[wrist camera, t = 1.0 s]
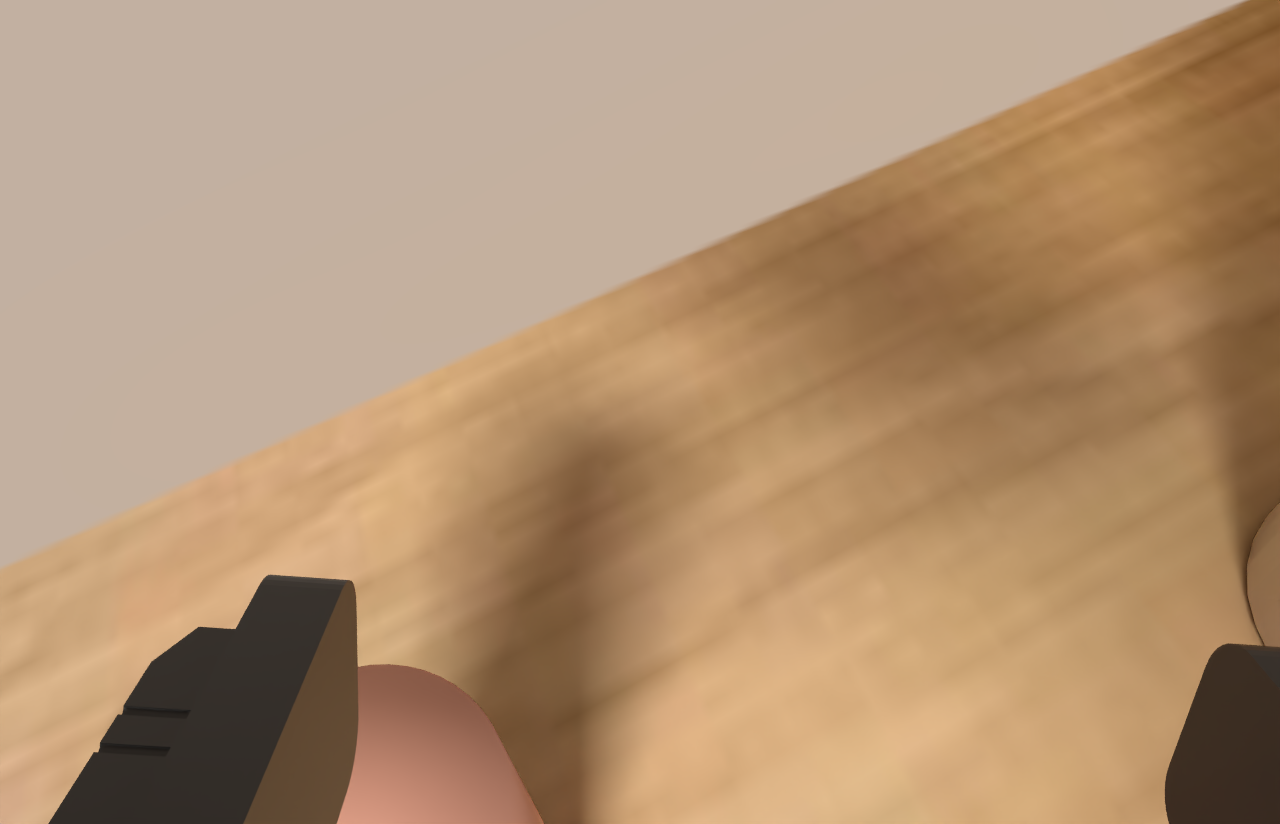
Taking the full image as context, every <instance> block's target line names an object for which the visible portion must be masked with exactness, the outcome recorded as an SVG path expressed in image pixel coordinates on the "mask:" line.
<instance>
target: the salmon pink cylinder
mask: <svg viewBox="0 0 1280 824" xmlns="http://www.w3.org/2000/svg"><path fill="white" fill-rule="evenodd" d="M337 824H544V822H543V820H542V818H541V817H540V815H539V813H538V811H537V809H536V807H535V805H534V803H533V801H532V799H531V797H530V796H529V794H528V792H527V790H526V788H525V786H524V784H523V782H522V780H521V778H520V776H519V774H518V773H517V771H516V769H515V767H514V765H513V763H512V761H511V759H510V757H509V755H508V753H507V751H506V750H505V748H504V746H503V744H502V742H501V740H500V738H499V736H498V734H497V732H496V730H495V729H494V727H493V725H492V723H491V721H490V720H489V719H488V717H487V716H486V714H485V713H484V712H483V710H482V709H481V708H480V707H479V706H478V705H477V704H476V702H475V701H474V700H473V699H472V698H471V697H470V696H469V695H467V694H466V693H465V692H464V691H462V690H461V689H460V688H458V687H457V686H456V685H454V684H452V683H451V682H449V681H447V680H445V679H444V678H442V677H440V676H437V675H435V674H432V673H430V672H427V671H425V670H421V669H417V668H412V667H408V666H400V665H390V664H387V665H368V666H361V667H358V735H357V745H356V752H355V759H354V765H353V770H352V775H351V779H350V783H349V786H348V790H347V793H346V796H345V799H344V802H343V806H342V809H341V812H340V815H339V818H338V821H337Z"/></svg>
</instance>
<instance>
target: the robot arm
mask: <svg viewBox="0 0 1280 824" xmlns="http://www.w3.org/2000/svg"><path fill="white" fill-rule="evenodd" d="M1247 592H1248V599H1249V602H1250V606H1251V610H1252V614H1253V618H1254V621H1255V625H1256V628H1257V630H1258V632H1259V634H1260V636H1261V638H1262V640H1263V642H1264V644H1265V646H1257V645H1243V644H1225V645H1222V646H1221V647H1219V648H1217V649H1216V650H1215V651H1214V652H1213V654H1212V655H1211V657H1210V658H1209V660H1208V663H1207V665H1206V667H1205V670H1204V673H1203V675H1202V678H1201V681H1200V684H1199V686H1198V689H1197V692H1196V694H1195V697H1194V700H1193V702H1192V705H1191V708H1190V711H1189V713H1188V716H1187V719H1186V721H1185V724H1184V727H1183V730H1182V732H1181V735H1180V738H1179V740H1178V743H1177V746H1176V749H1175V751H1174V754H1173V757H1172V759H1171V762H1170V765H1169V768H1168V771H1167V776H1166V781H1165V804H1166V812H1167V817H1168V821H1169V824H1280V502H1279V503H1278V505H1277V506H1276V507H1275V508H1274V509H1273V510H1272V511H1271V512H1270V513H1269V514H1268V516H1267V517H1266V518H1265V520H1264V522H1263V524H1262V525H1261V527H1260V529H1259V530H1258V532H1257V534H1256V536H1255V537H1254V539H1253V543H1252V547H1251V551H1250V555H1249V559H1248V563H1247ZM357 735H358V663H357V613H356V593H355V588H354V585H353V582H352V581H350V580H338V579H323V578H309V577H294V576H280V575H268V576H266V577H265V578H264V579H263V581H262V582H261V584H260V585H259V587H258V589H257V591H256V593H255V595H254V596H253V598H252V600H251V602H250V604H249V606H248V607H247V609H246V611H245V613H244V615H243V616H242V618H241V620H240V622H239V624H238V626H237V627H236V629H223V628H208V627H198V628H197V629H195V630H194V631H193V632H191V633H190V634H189V635H187V636H186V637H185V638H183V639H182V640H180V641H179V642H178V643H176V644H175V645H174V646H172V647H171V648H170V649H168V650H167V651H166V652H164V653H163V654H162V655H160V656H159V657H158V658H156V659H155V660H153V661H152V662H151V663H150V665H149V667H148V668H147V670H146V671H145V673H144V674H143V676H142V678H141V679H140V681H139V682H138V684H137V685H136V687H135V689H134V690H133V692H132V693H131V695H130V696H129V698H128V700H127V701H126V703H125V704H124V709H123V713H122V715H117V717H116V718H115V720H114V722H113V723H112V725H111V726H110V728H109V729H108V731H107V733H106V734H105V736H104V737H103V739H102V740H101V742H100V749H99V752H98V753H97V752H94V753H93V755H92V756H91V758H90V759H89V761H88V762H87V764H86V766H85V767H84V769H83V770H82V772H81V773H80V775H79V777H78V778H77V780H76V781H75V783H74V784H73V786H72V788H71V789H70V791H69V792H68V794H67V795H66V797H65V799H64V800H63V802H62V803H61V805H60V806H59V808H58V810H57V811H56V813H55V814H54V816H53V817H52V819H51V821H50V822H49V824H337V821H338V818H339V815H340V812H341V809H342V806H343V802H344V799H345V796H346V793H347V790H348V786H349V783H350V779H351V775H352V770H353V765H354V759H355V752H356V745H357Z"/></svg>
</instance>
